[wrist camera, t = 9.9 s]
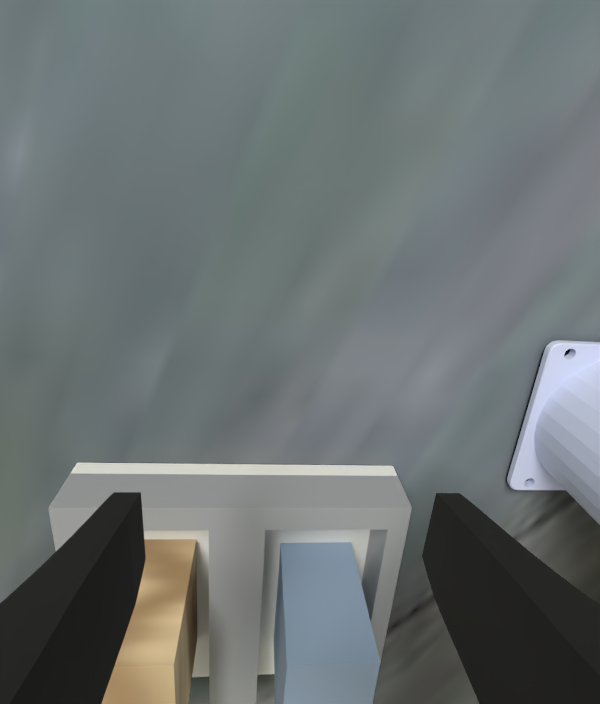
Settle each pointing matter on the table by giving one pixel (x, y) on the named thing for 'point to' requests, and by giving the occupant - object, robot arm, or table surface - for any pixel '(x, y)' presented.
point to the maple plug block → (160, 629)
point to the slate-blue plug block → (322, 628)
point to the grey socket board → (251, 543)
